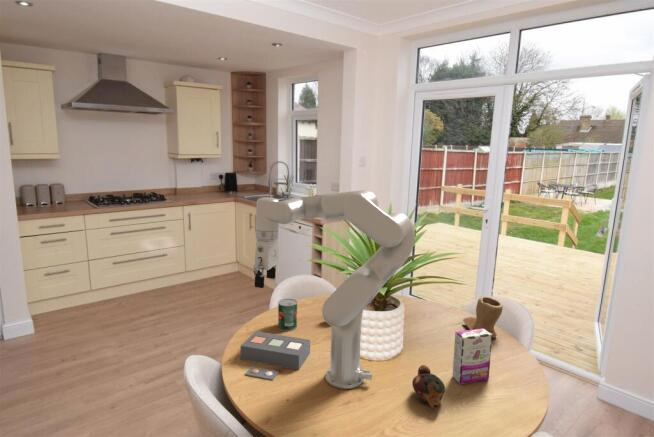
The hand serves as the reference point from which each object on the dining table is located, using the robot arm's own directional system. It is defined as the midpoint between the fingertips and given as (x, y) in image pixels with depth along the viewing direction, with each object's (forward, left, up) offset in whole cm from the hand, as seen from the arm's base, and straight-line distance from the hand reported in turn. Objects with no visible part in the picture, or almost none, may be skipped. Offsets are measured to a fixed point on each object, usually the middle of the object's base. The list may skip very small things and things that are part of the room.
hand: (265, 282), depth 140 cm
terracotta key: (+4, -3, -26) cm, 26 cm away
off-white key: (-10, -3, -26) cm, 28 cm away
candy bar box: (-70, -10, -29) cm, 76 cm away
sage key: (-3, -3, -26) cm, 26 cm away
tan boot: (-77, -49, -29) cm, 95 cm away
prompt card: (-3, +9, -29) cm, 30 cm away
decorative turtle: (-57, +6, -29) cm, 64 cm away
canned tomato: (+2, -27, -29) cm, 40 cm away
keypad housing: (-3, -3, -29) cm, 29 cm away
